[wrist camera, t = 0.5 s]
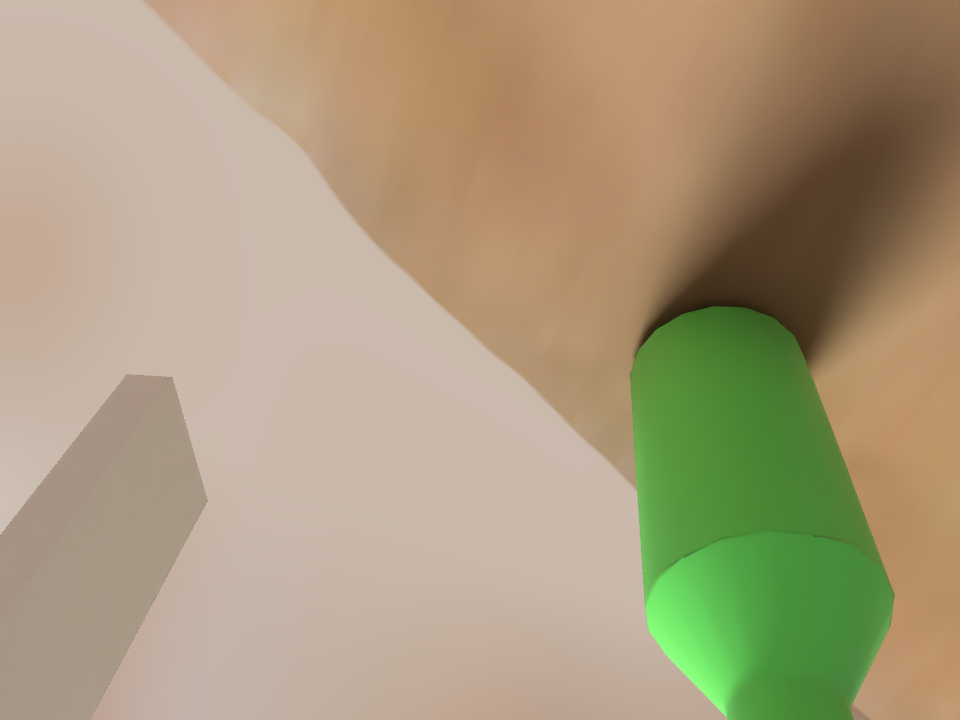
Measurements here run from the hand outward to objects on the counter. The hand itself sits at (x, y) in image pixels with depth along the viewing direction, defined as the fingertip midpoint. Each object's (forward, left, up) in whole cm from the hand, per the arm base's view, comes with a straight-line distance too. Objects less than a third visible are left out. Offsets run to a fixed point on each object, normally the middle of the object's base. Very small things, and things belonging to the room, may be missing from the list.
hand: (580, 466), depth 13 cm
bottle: (+16, +7, -26) cm, 32 cm away
